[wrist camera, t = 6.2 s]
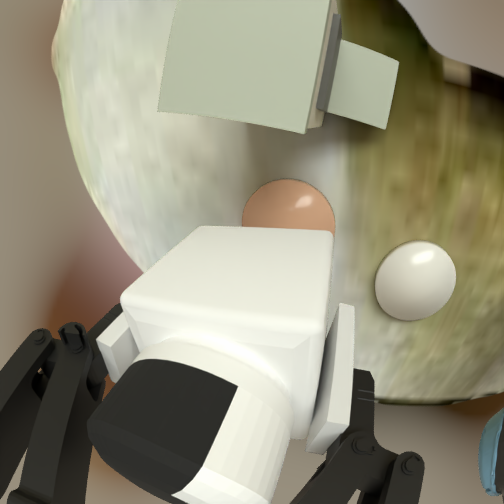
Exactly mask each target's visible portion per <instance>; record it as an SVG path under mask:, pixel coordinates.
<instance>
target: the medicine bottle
mask: <svg viewBox="0 0 504 504" xmlns="http://www.w3.org/2000/svg"><path fill="white" fill-rule="evenodd" d="M333 246H334V237H333V234H332V233H331V232H330V231H326V230H307V229H286V228H262V227H235V226H199V227H197V228H196V229H195V230H194V231H193V232H191V233H190V234H189V235H188V236H187V237H185V238H184V239H183V240H182V241H181V242H180V243H178V244H177V245H176V246H175V247H174V248H172V249H171V250H170V251H169V252H168V253H167V254H165V255H164V256H163V257H162V258H161V259H160V260H159V261H157V262H156V263H155V264H154V265H153V266H152V267H151V268H149V269H148V270H147V271H146V272H145V273H144V274H143V275H142V276H140V277H139V278H138V279H137V280H136V281H135V282H134V283H133V284H131V285H130V286H129V287H128V288H127V289H126V290H125V291H124V292H123V293H122V295H121V297H120V302H121V306H122V309H123V311H124V314H125V317H126V319H127V322H128V325H129V327H130V330H131V332H132V335H133V337H134V340H135V342H136V344H137V347H138V349H139V352H140V354H139V355H138V356H137V357H136V359H135V360H134V361H133V362H132V364H131V365H130V366H129V367H128V369H127V370H126V371H125V373H124V374H123V375H122V376H121V378H120V379H119V380H118V381H117V383H116V384H115V385H114V387H113V388H112V389H111V390H110V392H109V393H108V394H107V396H106V397H105V398H104V399H103V401H102V402H101V403H100V405H99V406H98V407H97V409H96V410H95V411H94V412H93V414H92V415H91V416H90V418H89V419H88V420H87V431H88V437H89V439H90V441H91V442H92V444H93V446H94V447H95V449H96V450H97V452H98V453H99V455H100V457H101V458H102V459H103V460H104V461H105V462H106V463H107V464H108V465H109V466H110V467H111V468H113V469H114V470H115V471H117V472H118V473H119V474H121V475H122V476H124V477H125V478H126V479H128V480H129V481H131V482H132V483H134V484H135V485H137V486H138V487H140V488H142V489H143V490H145V491H147V492H149V493H151V494H152V495H154V496H156V497H158V498H160V499H163V500H165V501H167V502H169V503H172V504H271V501H272V498H273V495H274V492H275V489H276V486H277V483H278V479H279V476H280V473H281V469H282V466H283V462H284V459H285V455H286V452H287V448H288V444H289V441H290V439H297V440H303V439H305V438H307V437H308V435H309V430H310V425H311V422H312V418H313V413H314V407H315V402H316V396H317V391H318V385H319V379H320V373H321V366H322V360H323V353H324V346H325V340H326V331H327V322H328V312H329V302H330V291H331V278H332V263H333Z"/></svg>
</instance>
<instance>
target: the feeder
mask: <svg viewBox="0 0 504 504" xmlns="http://www.w3.org/2000/svg"><path fill="white" fill-rule="evenodd" d="M341 37H342V28H341V15H339V14H337V4H336V0H178V1H177V5H176V9H175V13H174V18H173V22H172V27H171V31H170V36H169V41H168V46H167V51H166V57H165V63H164V69H163V75H162V81H161V88H160V95H159V103H158V111H157V112H168V113H179V114H189V115H198V116H206V117H214V118H221V119H228V120H235V121H241V122H247V123H252V124H258V125H263V126H268V127H273V128H278V129H283V130H288V131H292V132H297V133H301V134H306V133H307V129H308V128H315V127H322V123H323V118H324V113H325V112H326V113H327V112H328V113H332V114H336V115H339V116H343V117H346V118H350V119H353V120H356V121H360V122H363V123H366V124H369V125H372V126H375V127H378V128H381V129H385V130H386V125H387V121H388V116H389V112H390V107H391V102H392V98H393V93H394V87H395V82H396V76H397V71H398V65H399V62H398V61H396V60H394V59H392V58H389V57H387V56H385V55H382V54H380V53H377V52H375V51H372V50H370V49H367V48H364V47H362V46H359V45H356V44H353V43H350V42H347V41H344V40H341Z"/></svg>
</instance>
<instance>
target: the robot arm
mask: <svg viewBox="0 0 504 504" xmlns="http://www.w3.org/2000/svg"><path fill="white" fill-rule="evenodd" d="M58 332H59V335H60V337H61V340H58V339H54V338H52V335H51V333H50V331H48V330H47V329H43V328H42V329H37V330H35V331H33V332H32V333H31V334H30V335H29V336H28V337H27V338H26V340H25V341H24V342H23V343H22V344H21V345H20V347H19V348H18V349H17V350H16V352H15V353H14V354H13V355H12V357H11V358H10V359H9V361H8V362H7V363H6V364H5V366H4V367H3V368H2V370H1V371H0V499H1V498H2V496H3V495H4V493H5V491H6V489H7V487H8V485H9V483H10V481H11V479H12V477H13V475H14V473H15V471H16V469H17V467H18V465H19V463H20V461H21V458H22V457H23V455H24V453H25V451H26V449H27V447H28V449H27V453H26V457H25V461H24V466H23V470H22V475H21V480H20V485H19V487H18V489H16V490H13V491H11V492H10V494H9V496H8V499H7V504H85V495H86V487H87V478H88V472H89V465H90V458H91V452H92V446H93V444H92V442H91V441H90V439H89V437H88V431H87V420H88V419H89V418H90V416H91V415H92V414H93V412H94V411H95V410H96V409H97V407H98V406H99V405H100V403H101V402H102V397H103V394H104V389H105V382H106V381H105V379H104V378H105V377H106V376H107V374H108V373H109V376H110V378H111V380H112V381H113V382H115V383H117V381H118V380H119V379H120V378H121V376H122V375H123V374H124V373H125V371H126V370H127V369H128V367H129V366H130V365H131V364H132V362H133V361H134V360H135V359H136V357H137V356H138V355H139V354H140V352H139V349H138V347H137V344H136V342H135V340H134V337H133V335H132V332H131V330H130V327H129V325H128V322H127V319H126V317H125V314H124V311H123V309H122V306H121V303H119V304H117V305H115V306H114V307H113V308H112V309H111V310H110V311H109V313H107V314H106V315H105V316H104V317H103V318H102V319H101V320H100V321H99V322H98V323H97V324H96V325H95V326H94V327H92V328H91V329H90V330H89V331H88V332H87V333H86V330H85V328H84V326H83V325H82V324H80V323H77V322H70V323H67V324H65V325H63V326H62V327H61V328H60V329H59V330H58ZM353 363H354V306H351V305H347V304H342V303H339V306H338V309H337V311H336V314H335V317H334V319H333V322H332V325H331V327H330V330H329V333H328V335H327V338H326V340H325V346H324V353H323V360H322V366H321V373H320V379H319V385H318V391H317V396H316V402H315V407H314V413H313V418H312V422H311V425H310V430H309V435H308V439H307V444H306V449H305V452H310V453H316V454H322V455H323V454H324V453H325V452H326V451H327V455H326V460H325V461H324V462H323V463H322V464H321V465H320V466H319V467H318V468H317V469H318V470H317V471H316V472H315V474H314V475H313V476H312V477H311V479H310V480H309V481H308V482H307V484H306V485H305V486H304V487H303V489H302V490H301V491H300V492H299V493H298V494H297V496H296V497H295V498H294V499H293V500H292V502H291V503H290V504H347V503H348V501H349V500H350V498H351V497H352V495H353V494H354V492H355V491H356V489H358V490H361V492H360V495H359V499H358V501H357V504H418V502H419V497H420V492H421V487H422V481H423V475H424V461H423V459H422V457H421V456H420V455H418V454H417V453H415V452H404V453H402V454H400V455H398V454H396V453H393V452H391V451H389V450H386V449H384V448H383V447H381V446H380V445H379V444H378V442H377V440H376V439H375V437H374V379H373V377H372V375H371V373H370V371H365V370H359V369H354V368H353ZM40 367H41V369H42V370H41V371H40V372H39V373H38V370H39V369H40ZM478 455H479V456H478V462H479V463H478V465H479V474H480V480H481V483H482V486H483V488H485V489H486V493H487V494H488V495H490V496H499V495H501V494H502V497H503V503H504V408H503V409H502V410H500V411H499V412H498V413H497V414H496V415H494V416H493V417H492V418H491V419H490V420H489V421H488V423H487V424H486V426H485V428H484V430H483V433H482V437H481V440H480V444H479V454H478Z"/></svg>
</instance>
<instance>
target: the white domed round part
mask: <svg viewBox="0 0 504 504" xmlns="http://www.w3.org/2000/svg"><path fill="white" fill-rule="evenodd" d="M455 282H456V272H455V267H454V264H453V262H452V260H451V258H450V257H449V255H448V254H447V253H446V251H445V250H444V249H443V248H442V247H440V246H439V245H437V244H435V243H433V242H430V241H426V240H413V241H409V242H405V243H403V244H400V245H399V246H397V247H395V248H394V249H392V250H391V251H390V252H389V253H388V254H387V255H386V256H385V257H384V258H383V260H382V261H381V263H380V265H379V267H378V269H377V272H376V276H375V291H376V297H377V300H378V302H379V304H380V306H381V307H382V309H383V310H384V311H385V312H386V313H388V314H389V315H390V316H392V317H394V318H397V319H401V320H407V321H412V320H419V319H423V318H426V317H428V316H430V315H432V314H434V313H436V312H437V311H438V310H440V309H441V308H442V307H443V306H444V305H445V304H446V302H447V301H448V300H449V298H450V296H451V294H452V292H453V290H454V287H455Z"/></svg>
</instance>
